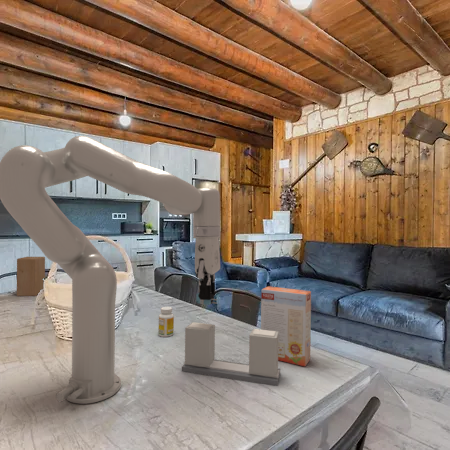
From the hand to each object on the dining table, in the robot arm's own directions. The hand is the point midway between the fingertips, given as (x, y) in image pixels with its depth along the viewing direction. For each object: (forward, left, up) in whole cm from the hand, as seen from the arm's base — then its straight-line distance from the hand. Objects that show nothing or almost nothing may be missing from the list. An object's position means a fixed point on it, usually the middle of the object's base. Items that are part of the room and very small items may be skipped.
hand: (207, 297), depth 89 cm
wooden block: (+52, +119, -20) cm, 132 cm away
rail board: (-1, -7, -20) cm, 21 cm away
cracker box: (+12, -21, -20) cm, 31 cm away
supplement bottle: (+19, +22, -20) cm, 36 cm away
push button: (0, 0, -2) cm, 2 cm away
